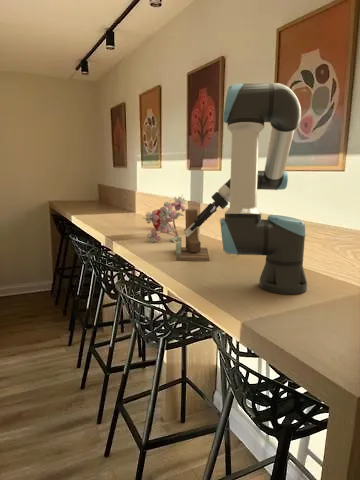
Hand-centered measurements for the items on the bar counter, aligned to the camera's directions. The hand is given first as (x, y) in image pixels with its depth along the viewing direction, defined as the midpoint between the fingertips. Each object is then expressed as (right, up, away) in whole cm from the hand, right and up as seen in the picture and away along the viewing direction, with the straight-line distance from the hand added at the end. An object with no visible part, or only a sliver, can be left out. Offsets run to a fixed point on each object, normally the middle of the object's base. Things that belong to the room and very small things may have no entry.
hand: (185, 233), depth 170 cm
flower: (-12, -4, +29) cm, 31 cm away
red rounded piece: (-15, +3, +65) cm, 67 cm away
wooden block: (+3, -8, -1) cm, 8 cm away
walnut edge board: (+3, -10, -1) cm, 10 cm away
